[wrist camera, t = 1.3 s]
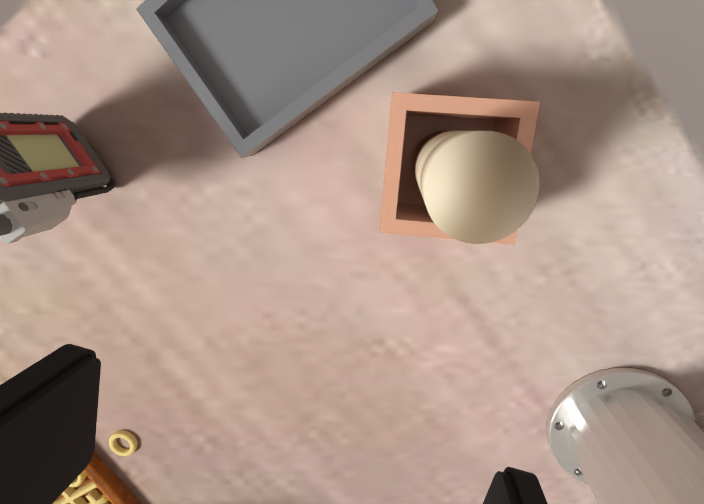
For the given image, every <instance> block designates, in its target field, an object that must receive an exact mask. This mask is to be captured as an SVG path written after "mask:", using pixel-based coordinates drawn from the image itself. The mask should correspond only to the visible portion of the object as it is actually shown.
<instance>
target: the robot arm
mask: <svg viewBox="0 0 704 504" xmlns="http://www.w3.org/2000/svg"><path fill="white" fill-rule="evenodd" d="M100 369H101V362H100V360H99V359H97V358H96V354H95V352H94V351H93V350H90V349H86V348H83V347H79V346H76V345H72V344H66V345H64V346H62V347H60V348H59V349H57V350H56V351H54V352H52V353H51V354H49V355H48V356H46V357H44V358H43V359H41V360H40V361H38V362H36V363H35V364H33V365H32V366H30V367H28V368H27V369H25V370H24V371H22V372H21V373H19V374H17V375H16V376H14V377H13V378H11V379H9V380H8V381H6V382H5V383H3V384H1V385H0V504H53V502H54V501H55V500H56V499H57V498H58V497H59V496H60V495H61V494H62V493H63V492H64V491H65V490H66V489H67V488H68V487H69V485H70V484H71V483H72V482H73V481H74V480H75V479H76V478H77V477H78V476H79V475H80V474H81V473H82V472H83V471H84V470H85V468H86V467H87V466H88V464H89V463H90V461H91V459H92V457H93V454H94V448H95V435H96V421H97V408H98V395H99V382H100ZM546 435H547V440H548V444H549V446H550V448H551V451H552V453H553V455H554V457H555V458H556V460H557V462H558V463H559V464H560V466H561V467H562V468H563V469H564V470H565V471H566V472H567V473H569V474H570V475H571V476H573V477H574V478H576V479H578V480H580V481H582V482H584V483H586V484H588V485H589V487H590V489H591V491H592V492H593V494H594V496H595V498H596V500H597V502H598V504H704V432H703V431H702V430H701V429H700V428H699V427H698V426H697V425H696V424H695V416H694V413H693V410H692V407H691V405H690V403H689V402H688V400H687V399H686V397H685V396H684V395H683V394H682V393H681V392H680V391H679V390H678V389H677V388H676V387H675V386H674V385H673V384H671V383H670V382H669V381H667V380H666V379H665V378H663V377H661V376H659V375H657V374H655V373H652V372H649V371H645V370H642V369H635V368H611V369H606V370H601V371H597V372H594V373H592V374H589V375H586V376H584V377H582V378H581V379H579V380H577V381H576V382H574V383H572V384H571V385H570V386H569V387H568V388H566V389H565V390H564V391H563V392H562V393H561V394H560V396H559V397H558V398H557V399H556V400H555V402H554V404H553V406H552V408H551V409H550V412H549V415H548V419H547V424H546ZM483 504H547V501H546V499H545V496H544V494H543V491H542V489H541V486H540V484H539V481H538V479H537V477H536V475H534V474H533V473H529V472H526V471H522V470H519V469H515V468H511V467H507V468H506V469H505V470H504V472H500V471H498V472H497V473H496V474H495V476H494V478H493V481H492V483H491V485H490V488H489V490H488V493H487V495H486V497H485V500H484V502H483Z"/></svg>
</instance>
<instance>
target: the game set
mask: <svg viewBox="0 0 704 504" xmlns="http://www.w3.org/2000/svg"><path fill="white" fill-rule="evenodd" d="M117 438H124V439H126V440H127V441H128V442H129V444H130V448H129V449H124V448H122V447H120V446H119V445H118V443H117ZM109 446H110V448H111V449H112V451H113V452H115V453H116V454H118V455H120V456H130V455H131V454H133V452H134V451H135V450H136V449H137V446H138V442H137V439H136V438H135V436H134V435H133V434H132V433H130V432H128V431H125V430H119V431H116V432H115V433H114V434H113V435H112V436H111V437H110V439H109ZM53 504H141V503H140V502H139V501H138V500H137V499H136V498H135V496H134V495H133V494H132V493H131V492H130V491H129V490H128V489H127V487H126V486H125V485H124V484H123V483H122V482H121V481H120V480H119V478H118V477H117V476H116V475H115V474H114V473H113V472H112V471H111V469H110V468H109V467H108V466H107V465H106V464H105V463H104V462H103V460H102V459H101V458H100V457H99V456H98V455H97V454H96V453H95V452H94V454H93V457H92V459H91V461H90V463H89V464H88V466H87V467H86V468H85V470H84V471H83V472H82V473H81V474H80V475H79V476H78V477H77V478H76V479H75V480H74V481H73V482H72V483H71V484H70V485H69V487H68V488H67V489H66V490H65V491H64V492H63V493H62V494H61V495H60V496H59V497H58V498H57V499H56V500H55V501H54V502H53Z"/></svg>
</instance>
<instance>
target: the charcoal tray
mask: <svg viewBox="0 0 704 504" xmlns="http://www.w3.org/2000/svg"><path fill="white" fill-rule="evenodd" d="M136 10H137V11H138V12H139V14H140V15H141V17H142V18H143V19H144V21H145V22H146V24H147V25H148V27H149V28H150V29H151V31H152V32H153V34H154V35H155V36H156V38H157V39H158V41H159V42H160V43H161V45H162V46H163V48H164V49H165V51H166V52H167V53H168V55H169V56H170V58H171V59H172V60H173V62H174V63H175V65H176V66H177V68H178V69H179V70H180V72H181V73H182V75H183V76H184V77H185V79H186V80H187V82H188V83H189V84H190V86H191V87H192V89H193V90H194V92H195V93H196V94H197V96H198V97H199V99H200V100H201V101H202V103H203V104H204V106H205V107H206V109H207V110H208V111H209V113H210V114H211V116H212V117H213V118H214V120H215V121H216V123H217V124H218V125H219V127H220V128H221V130H222V131H223V133H224V134H225V135H226V137H227V138H228V140H229V141H230V142H231V144H232V145H233V147H234V148H235V150H236V151H237V152H238V154H239V155H240V157H247V156H253V155H254V154H255V153H257V152H258V151H260V150H261V149H262V148H264V147H265V146H266V145H268V144H269V143H270V142H272V141H273V140H274V139H276V138H277V137H278V136H280V135H281V134H283V133H284V132H285V131H287V130H288V129H289V128H291V127H292V126H293V125H295V124H296V123H297V122H299V121H300V120H301V119H303V118H304V117H305V116H307V115H308V114H310V113H311V112H312V111H314V110H315V109H316V108H318V107H319V106H320V105H322V104H323V103H324V102H326V101H327V100H328V99H330V98H331V97H333V96H334V95H335V94H337V93H338V92H339V91H341V90H342V89H343V88H345V87H346V86H347V85H349V84H350V83H351V82H353V81H354V80H356V79H357V78H358V77H360V76H361V75H362V74H364V73H365V72H366V71H368V70H369V69H370V68H372V67H373V66H374V65H376V64H377V63H378V62H380V61H381V60H383V59H384V58H385V57H387V56H388V55H389V54H391V53H392V52H393V51H395V50H396V49H397V48H399V47H400V46H401V45H403V44H404V43H406V42H407V41H408V40H410V39H411V38H412V37H414V36H415V35H416V34H418V33H419V32H420V31H422V30H423V29H424V28H426V27H427V26H429V25H430V24H431V23H433V22H434V21H435V19H436V16H437V13H438V9H437V8H436V6H435V4H434V2H433V1H432V0H145V1H144V2H143V3H142V4H141V5H140V6H139V7H138V8H137V9H136Z"/></svg>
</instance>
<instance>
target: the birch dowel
mask: <svg viewBox="0 0 704 504" xmlns="http://www.w3.org/2000/svg"><path fill="white" fill-rule="evenodd" d="M413 171H414V174H415V177H416V180H417V183H418V186H419V188H420V191H421V194H422V197H423V199H424V202H425V205H426V208H427V210H428V213H429V215H430V217H431V219H432V220H433V222H434V223H435V224H436V225H437V227H438V228H439V229H440V230H442V231H443V232H444V233H445V234H447V235H448V236H450V237H452V238H454V239H456V240H458V241H462V242H465V243H472V244H484V243H490V242H495V241H498V240H500V239H503V238H505V237H507V236H509V235H510V234H512V233H513V232H515V231H516V230H517V229H518V228H520V227H521V226H522V225H523V224H524V223H525V222H526V220H527V219H528V218H529V216H530V215H531V213H532V211H533V209H534V207H535V205H536V202H537V199H538V195H539V188H540V178H539V172H538V168H537V165H536V163H535V161H534V158H533V157H532V155H531V154H530V152H529V151H528V150H527V149H526V147H525V146H524V145H522V144H521V143H520V142H519V141H517V140H516V139H514V138H513V137H511V136H508V135H506V134H503V133H500V132H494V131H439V132H435V133H433V134H431V135H429V136H427V137H426V138H425V139H424V140H423V141H422V142H421V143H420V144H419V145H418V147H417V149H416V151H415V153H414V157H413Z"/></svg>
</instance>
